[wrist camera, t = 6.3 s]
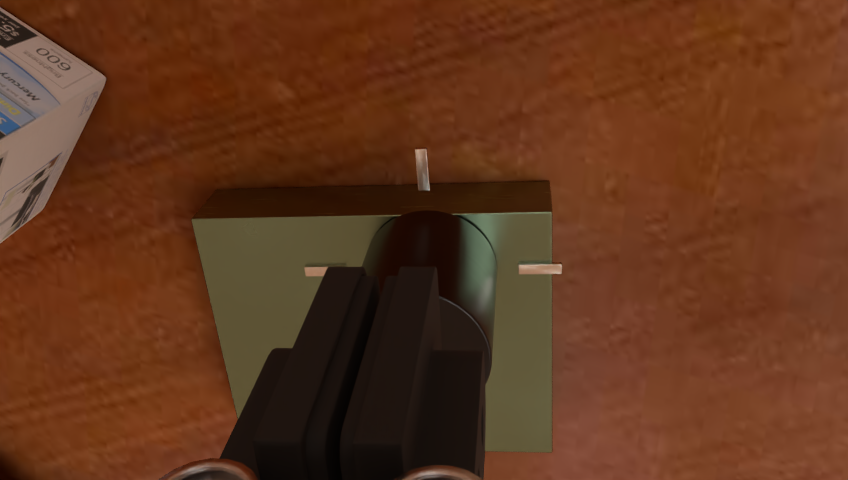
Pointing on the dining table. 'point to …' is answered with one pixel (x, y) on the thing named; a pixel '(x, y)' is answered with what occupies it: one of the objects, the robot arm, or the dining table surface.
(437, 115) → the dining table surface
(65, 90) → the light bulb box
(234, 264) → the dimmer panel
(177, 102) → the dining table surface
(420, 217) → the dimmer knob
